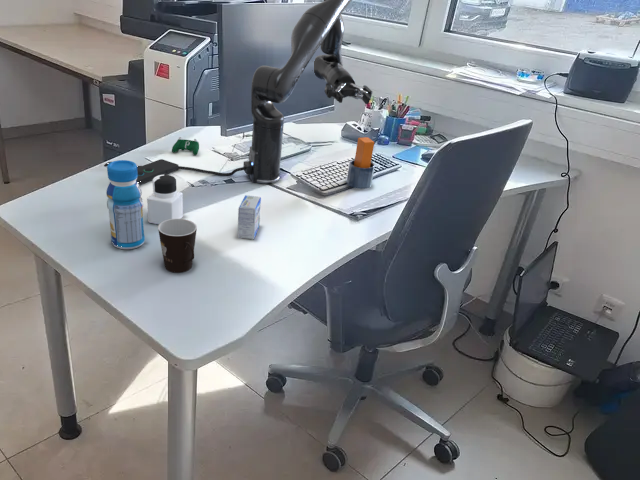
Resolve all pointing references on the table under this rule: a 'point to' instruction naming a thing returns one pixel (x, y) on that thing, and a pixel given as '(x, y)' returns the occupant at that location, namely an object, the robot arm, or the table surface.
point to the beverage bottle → (125, 205)
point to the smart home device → (155, 170)
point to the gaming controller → (186, 145)
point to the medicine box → (249, 217)
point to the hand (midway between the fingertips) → (354, 100)
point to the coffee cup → (360, 176)
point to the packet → (364, 152)
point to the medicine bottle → (164, 200)
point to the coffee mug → (177, 244)
